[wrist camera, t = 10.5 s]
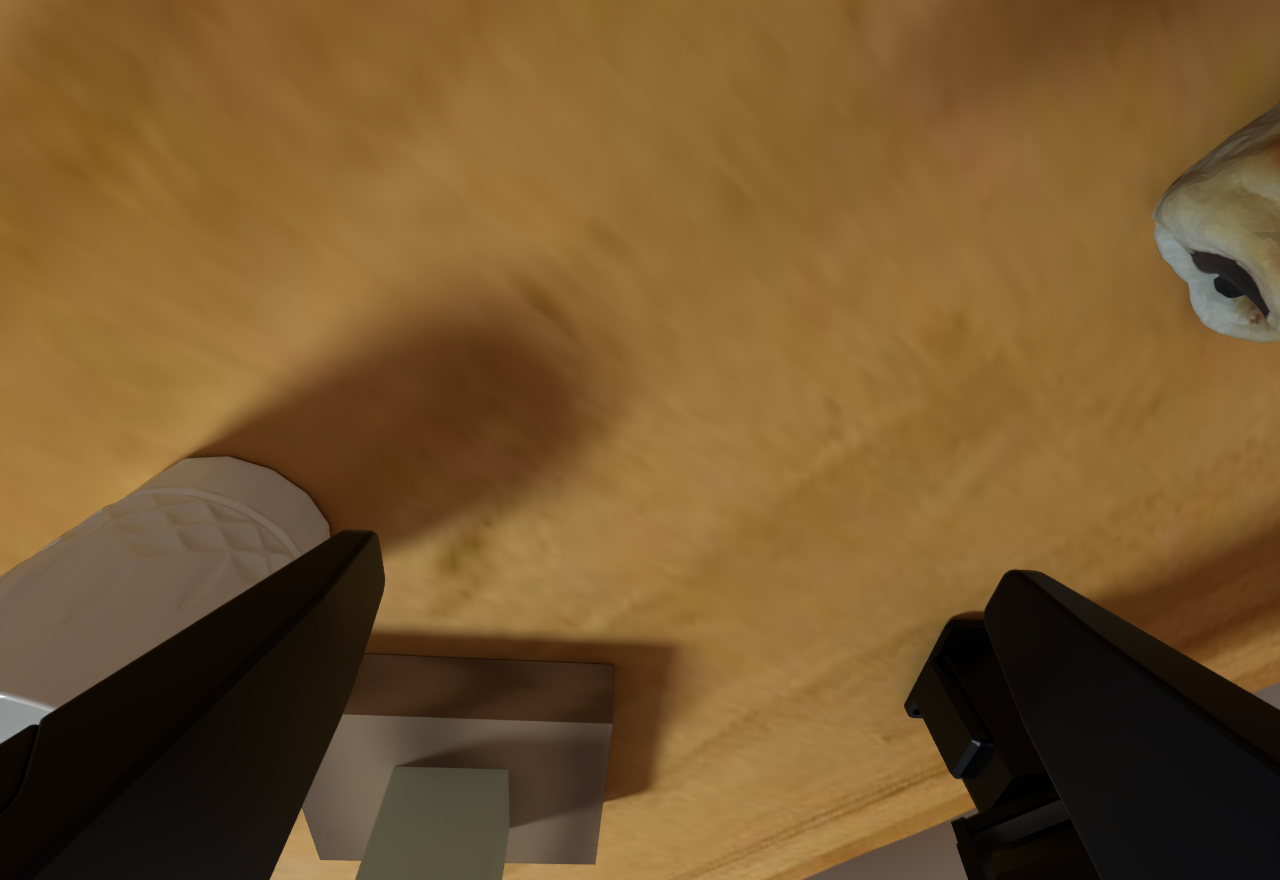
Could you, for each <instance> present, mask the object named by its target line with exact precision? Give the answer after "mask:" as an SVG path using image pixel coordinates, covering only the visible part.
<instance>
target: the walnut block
mask: <svg viewBox="0 0 1280 880" xmlns="http://www.w3.org/2000/svg"><path fill="white" fill-rule="evenodd" d="M613 683H614V665H609V664H586V663H563V662H540V661H517V660H494V659H471V658H448V657H424V656H401V655H378V654H364V655H363V659H362V662H361V665H360V668H359V671H358V674H357V678H356V681H355V684H354V687H353V689H352V692H351V695H350V698H349V701H348V703H347V706H346V708H345V710H344V713H343V715H342V718H341V720H340V722H339V724H338V727H337V729H336V731H335V734H334V736H333V738H332V740H331V743H330V745H329V747H328V749H327V752H326V754H325V756H324V758H323V761H322V763H321V765H320V767H319V770H318V772H317V774H316V776H315V779H314V781H313V783H312V785H311V788H310V790H309V792H308V794H307V797H306V799H305V801H304V803H303V806H302V809H303V812H304V815H305V818H306V821H307V824H308V826H309V829H310V832H311V835H312V838H313V841H314V844H315V847H316V850H317V852H318V855H319V858H320V860H353V861H362V859H363V856H364V853H365V850H366V847H367V844H368V841H369V838H370V835H371V832H372V829H373V826H374V824H375V821H376V818H377V815H378V812H379V809H380V806H381V803H382V800H383V797H384V794H385V791H386V789H387V786H388V783H389V780H390V777H391V774H392V771H393V768H394V766H395V767H432V768H469V769H505V770H508V775H509V815H510V831H509V837H508V844H507V850H506V857H505V863H534V864H594V865H595V862H596V854H597V846H598V838H599V831H600V823H601V815H602V807H603V799H604V791H605V783H606V775H607V768H608V760H609V752H610V744H611V736H612V728H613Z"/></svg>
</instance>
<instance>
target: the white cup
mask: <svg viewBox="0 0 1280 880" xmlns="http://www.w3.org/2000/svg"><path fill="white" fill-rule="evenodd" d="M329 538H330V530H329V524H328V522H327V521H326V519H325V518H324V517H323V515H322V514H321V512H320V511H319V509H318V508H317V506H316V505H315V504H314V502H313V501H312V499H311V498H310V496H309V495H308V494H307V493H306V492H304V491H303V490H301V489H300V488H298V487H297V486H295V485H294V484H293V483H291V482H290V481H288V480H287V479H285V478H284V477H282V476H281V475H279V474H278V473H277V472H275V471H274V470H272V469H269V468H266V467H262V466H259V465H256V464H252V463H249V462H246V461H242V460H239V459H236V458H232V457H229V456H221V457H202V458H186V459H183V460H181V461H179V462H178V463H176V464H174V465H172V466H171V467H169V468H167V469H166V470H164V471H162V472H160V473H159V474H157V475H155V476H154V477H152V478H151V479H149V480H148V481H146V482H145V483H144V484H142V485H141V486H139V487H138V488H137V489H135V490H134V491H133V492H131V493H130V494H128V495H127V496H126V497H124V498H123V499H121V500H120V501H118V502H116V503H114V504H110V505H107V506H105V507H103V508H102V509H100V510H99V511H97V512H96V513H94V514H93V515H91V516H90V517H89V518H87V519H86V520H85V521H83V522H82V523H81V524H79V525H78V526H76V527H74V528H73V529H71V530H69V531H67V532H66V533H64V534H63V535H61V536H60V537H58V538H57V539H55V540H54V541H53V542H51V543H50V544H48V545H47V546H46V547H44V548H43V549H42V550H40V551H39V552H38V553H36V554H35V555H34V556H32V557H30V558H28V559H26V560H25V561H23V562H21V563H20V564H18V565H16V566H15V567H13V568H12V569H10V570H9V571H7V572H6V573H5V574H3V575H2V576H0V743H2V742H4V741H5V740H7V739H8V738H10V737H12V736H13V735H15V734H16V733H18V732H20V731H21V730H23V729H24V728H26V727H28V726H29V725H32V724H37V725H39V722H40V720H41V719H42V718H43V717H44V716H46V715H47V714H49V713H50V712H52V711H54V710H55V709H57V708H58V707H60V706H62V705H63V704H65V703H66V702H68V701H70V700H71V699H73V698H74V697H76V696H78V695H79V694H81V693H82V692H84V691H86V690H87V689H89V688H90V687H92V686H94V685H95V684H97V683H98V682H100V681H102V680H103V679H105V678H106V677H108V676H110V675H111V674H113V673H114V672H116V671H118V670H119V669H121V668H122V667H124V666H126V665H127V664H129V663H130V662H132V661H134V660H135V659H137V658H138V657H140V656H142V655H143V654H145V653H146V652H148V651H150V650H151V649H153V648H154V647H156V646H158V645H159V644H161V643H162V642H164V641H166V640H167V639H169V638H170V637H172V636H174V635H175V634H177V633H178V632H180V631H182V630H183V629H185V628H186V627H188V626H190V625H191V624H193V623H194V622H196V621H198V620H199V619H201V618H202V617H204V616H206V615H207V614H209V613H210V612H212V611H214V610H215V609H217V608H218V607H220V606H222V605H223V604H225V603H226V602H228V601H230V600H231V599H233V598H234V597H236V596H238V595H239V594H241V593H242V592H244V591H246V590H247V589H249V588H250V587H252V586H254V585H255V584H257V583H258V582H260V581H262V580H263V579H265V578H266V577H268V576H270V575H271V574H273V573H274V572H276V571H278V570H279V569H281V568H282V567H284V566H286V565H287V564H289V563H290V562H292V561H293V560H295V559H297V558H298V557H300V556H301V555H303V554H305V553H306V552H308V551H309V550H311V549H313V548H314V547H316V546H317V545H319V544H321V543H322V542H324V541H325V540H327V539H329Z"/></svg>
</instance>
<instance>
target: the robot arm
mask: <svg viewBox="0 0 1280 880" xmlns="http://www.w3.org/2000/svg"><path fill="white" fill-rule="evenodd" d="M384 586H385V573H384V567H383V561H382V554H381V548H380V542H379V538H378V536H377V534H376V533H375V532H373V531H369V530H353V529H347V530H342V531H340V532H338V533H337V534H335V535H333V536H332V537H330V538H329V539H327V540H325V541H324V542H322V543H321V544H319V545H317V546H316V547H314V548H313V549H311V550H309V551H308V552H306V553H305V554H303V555H301V556H300V557H298V558H297V559H295V560H293V561H292V562H290V563H289V564H287V565H286V566H284V567H282V568H281V569H279V570H278V571H276V572H274V573H273V574H271V575H270V576H268V577H266V578H265V579H263V580H262V581H260V582H258V583H257V584H255V585H254V586H252V587H250V588H249V589H247V590H246V591H244V592H242V593H241V594H239V595H238V596H236V597H234V598H233V599H231V600H230V601H228V602H226V603H225V604H223V605H222V606H220V607H218V608H217V609H215V610H214V611H212V612H210V613H209V614H207V615H206V616H204V617H202V618H201V619H199V620H198V621H196V622H194V623H193V624H191V625H190V626H188V627H186V628H185V629H183V630H182V631H180V632H178V633H177V634H175V635H174V636H172V637H170V638H169V639H167V640H166V641H164V642H162V643H161V644H159V645H158V646H156V647H154V648H153V649H151V650H150V651H148V652H146V653H145V654H143V655H142V656H140V657H138V658H137V659H135V660H134V661H132V662H130V663H129V664H127V665H126V666H124V667H122V668H121V669H119V670H118V671H116V672H114V673H113V674H111V675H110V676H108V677H106V678H105V679H103V680H102V681H100V682H98V683H97V684H95V685H94V686H92V687H90V688H89V689H87V690H86V691H84V692H82V693H81V694H79V695H78V696H76V697H74V698H73V699H71V700H70V701H68V702H66V703H65V704H63V705H62V706H60V707H58V708H57V709H55V710H54V711H52V712H50V713H49V714H47V715H46V716H44V717H43V718H42V719H41V720H40V722H39V725H37V724H32V725H29V726H28V727H26V728H24V729H23V730H21V731H20V732H18V733H16V734H15V735H13V736H12V737H10V738H8V739H7V740H5V741H4V742H2V743H0V880H270V878H271V875H272V873H273V871H274V869H275V866H276V864H277V862H278V860H279V857H280V855H281V853H282V851H283V848H284V846H285V844H286V842H287V839H288V837H289V835H290V833H291V830H292V828H293V826H294V824H295V821H296V819H297V817H298V815H299V812H300V810H301V808H302V806H303V803H304V801H305V799H306V797H307V794H308V792H309V790H310V788H311V785H312V783H313V781H314V779H315V776H316V774H317V772H318V770H319V767H320V765H321V763H322V761H323V758H324V756H325V754H326V752H327V749H328V747H329V745H330V743H331V740H332V738H333V736H334V734H335V731H336V729H337V727H338V724H339V722H340V720H341V718H342V715H343V713H344V710H345V708H346V706H347V703H348V701H349V698H350V695H351V692H352V689H353V687H354V684H355V681H356V678H357V674H358V671H359V668H360V665H361V662H362V659H363V655H364V652H365V649H366V646H367V643H368V640H369V636H370V633H371V630H372V627H373V624H374V621H375V618H376V614H377V611H378V608H379V605H380V602H381V599H382V595H383V592H384ZM904 708H905V710H906V712H907V714H908V716H909V717H911V718H923V719H924V721H925V723H926V725H927V727H928V730H929V732H930V734H931V736H932V738H933V740H934V742H935V744H936V746H937V748H938V750H939V752H940V754H941V756H942V758H943V760H944V762H945V764H946V766H947V768H948V770H949V772H950V773H951V774H952V776H953V777H954V778H956V779H962V780H963V782H964V784H965V786H966V788H967V790H968V792H969V794H970V796H971V798H972V800H973V802H974V804H975V806H976V808H977V810H978V812H979V813H977V814H975V815H972V816H970V817H968V818H965V817H961V818H958V819H956V820H953V821H951V824H952V827H953V830H954V832H955V835H956V838H957V841H958V843H957V844H956V845H957V849H958V852H959V854H960V857H961V860H962V863H963V866H964V869H965V872H966V875H967V877H968V880H1280V710H1279V709H1277V708H1275V707H1274V706H1272V705H1270V704H1269V703H1267V702H1265V701H1263V700H1262V699H1260V698H1258V697H1256V696H1255V695H1253V694H1251V693H1250V692H1248V691H1246V690H1244V689H1243V688H1241V687H1239V686H1237V685H1236V684H1234V683H1232V682H1231V681H1229V680H1227V679H1225V678H1224V677H1222V676H1220V675H1218V674H1217V673H1215V672H1213V671H1212V670H1210V669H1208V668H1206V667H1205V666H1203V665H1201V664H1199V663H1198V662H1196V661H1194V660H1193V659H1191V658H1189V657H1187V656H1186V655H1184V654H1182V653H1180V652H1179V651H1177V650H1175V649H1174V648H1172V647H1170V646H1168V645H1167V644H1165V643H1163V642H1161V641H1160V640H1158V639H1156V638H1155V637H1153V636H1151V635H1149V634H1148V633H1146V632H1144V631H1142V630H1141V629H1139V628H1137V627H1136V626H1134V625H1132V624H1130V623H1129V622H1127V621H1125V620H1123V619H1122V618H1120V617H1118V616H1117V615H1115V614H1113V613H1111V612H1110V611H1108V610H1106V609H1104V608H1103V607H1101V606H1099V605H1098V604H1096V603H1094V602H1092V601H1091V600H1089V599H1087V598H1085V597H1084V596H1082V595H1080V594H1079V593H1077V592H1075V591H1073V590H1072V589H1070V588H1068V587H1066V586H1065V585H1063V584H1061V583H1060V582H1058V581H1056V580H1054V579H1053V578H1051V577H1049V576H1047V575H1046V574H1044V573H1042V572H1039V571H1034V570H1017V569H1014V570H1009V571H1008V572H1007V573H1005V574H1004V575H1003V577H1002V579H1001V580H1000V582H999V584H998V586H997V588H996V589H995V591H994V593H993V595H992V597H991V598H990V600H989V602H988V604H987V606H986V608H985V611H984V621H971V620H954V621H951V622H949V623H948V624H947V625H946V626H945V627H944V629H943V631H942V633H941V635H940V637H939V639H938V641H937V642H936V644H935V646H934V648H933V650H932V652H931V654H930V656H929V658H928V660H927V662H926V664H925V666H924V668H923V669H922V671H921V673H920V675H919V677H918V679H917V681H916V683H915V685H914V687H913V689H912V691H911V693H910V695H909V696H908V698H907V700H906V702H905V704H904Z"/></svg>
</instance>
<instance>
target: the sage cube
mask: <svg viewBox="0 0 1280 880" xmlns="http://www.w3.org/2000/svg"><path fill="white" fill-rule="evenodd" d="M509 831H510V815H509V775H508V770H505V769H469V768H432V767H395V766H394V768H393V771H392V774H391V777H390V780H389V783H388V786H387V789H386V791H385V794H384V797H383V800H382V803H381V806H380V809H379V812H378V815H377V818H376V821H375V824H374V826H373V829H372V832H371V835H370V838H369V841H368V844H367V847H366V850H365V853H364V856H363V859H362V861H361V864H360V867H359V870H358V873H357V876H356V879H355V880H502V876H503V870H504V863H505V857H506V850H507V844H508V837H509Z"/></svg>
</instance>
